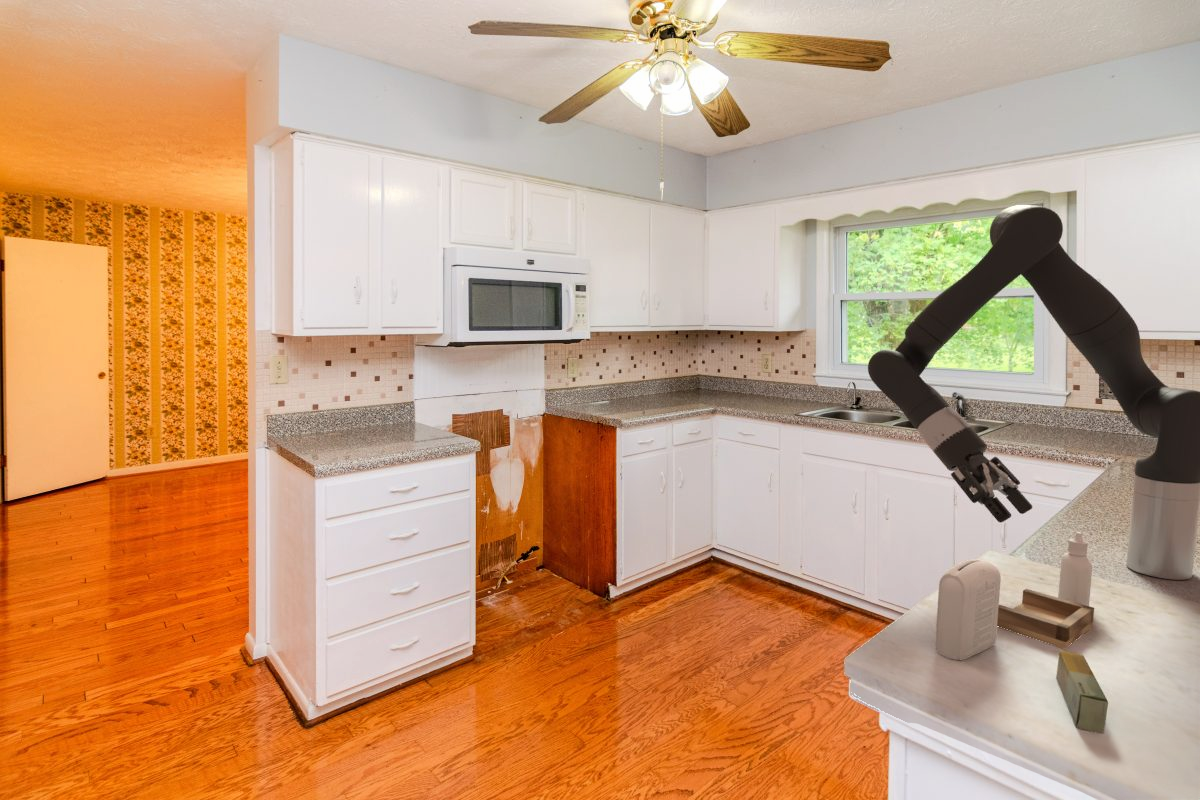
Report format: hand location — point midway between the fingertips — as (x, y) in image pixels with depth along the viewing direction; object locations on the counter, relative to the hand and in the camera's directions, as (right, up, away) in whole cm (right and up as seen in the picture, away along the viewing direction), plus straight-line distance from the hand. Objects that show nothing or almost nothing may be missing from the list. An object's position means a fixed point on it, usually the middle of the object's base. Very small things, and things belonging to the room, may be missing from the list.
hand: (1017, 515), depth 112 cm
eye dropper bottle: (+5, -14, -6) cm, 16 cm away
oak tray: (-4, -14, -13) cm, 20 cm away
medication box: (-13, -17, -33) cm, 39 cm away
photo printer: (-19, -15, -19) cm, 31 cm away
